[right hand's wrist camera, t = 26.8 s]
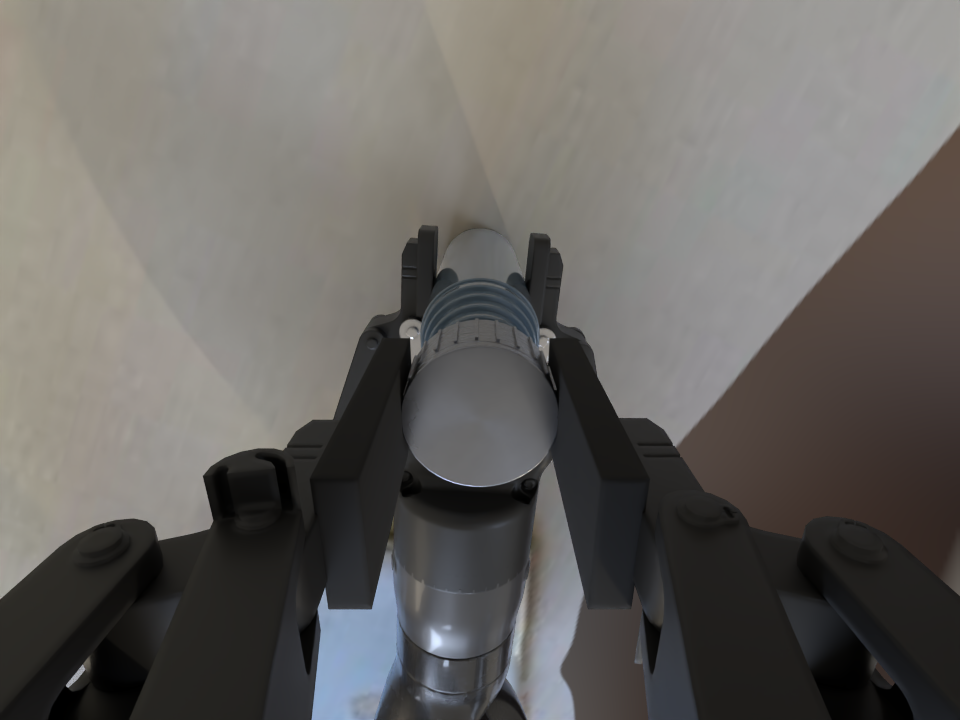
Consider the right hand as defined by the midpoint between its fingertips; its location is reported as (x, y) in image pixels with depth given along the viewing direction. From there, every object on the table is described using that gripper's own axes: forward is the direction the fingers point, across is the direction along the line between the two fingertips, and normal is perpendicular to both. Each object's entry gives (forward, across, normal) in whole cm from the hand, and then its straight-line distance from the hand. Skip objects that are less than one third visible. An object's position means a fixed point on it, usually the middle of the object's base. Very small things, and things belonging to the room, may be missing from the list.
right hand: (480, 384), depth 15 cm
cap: (-2, 0, 0) cm, 2 cm away
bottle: (+16, 0, 0) cm, 16 cm away
